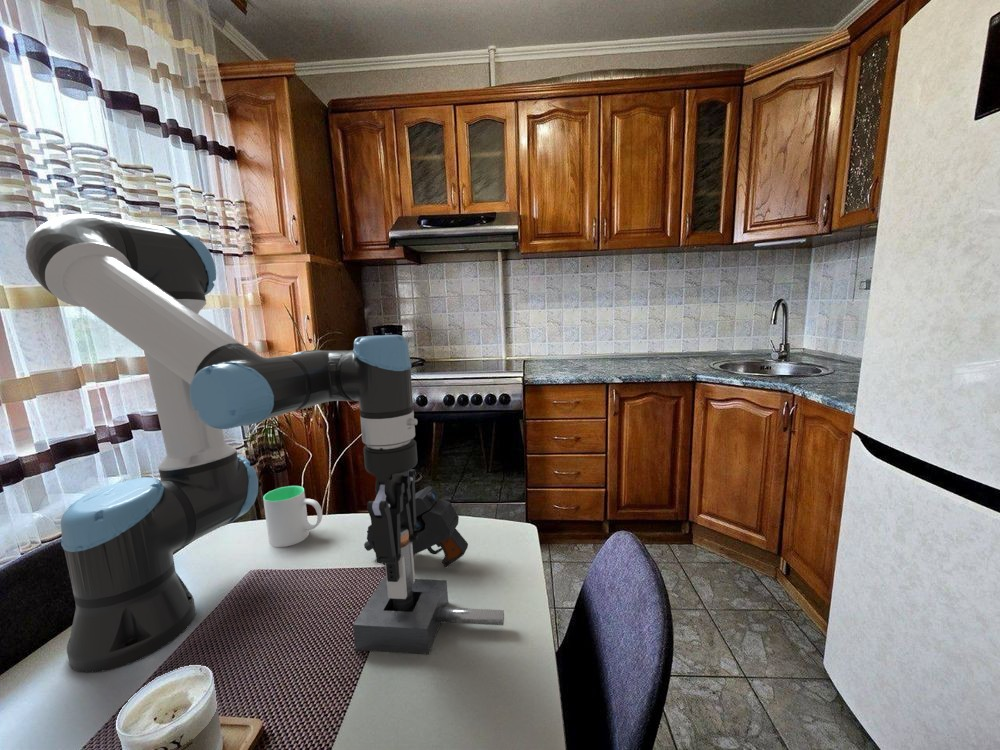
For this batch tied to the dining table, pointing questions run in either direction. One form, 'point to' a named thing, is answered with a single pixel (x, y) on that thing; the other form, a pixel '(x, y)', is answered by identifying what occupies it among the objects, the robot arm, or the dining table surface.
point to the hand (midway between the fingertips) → (402, 588)
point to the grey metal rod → (407, 603)
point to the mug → (288, 515)
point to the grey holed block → (413, 619)
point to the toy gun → (433, 528)
